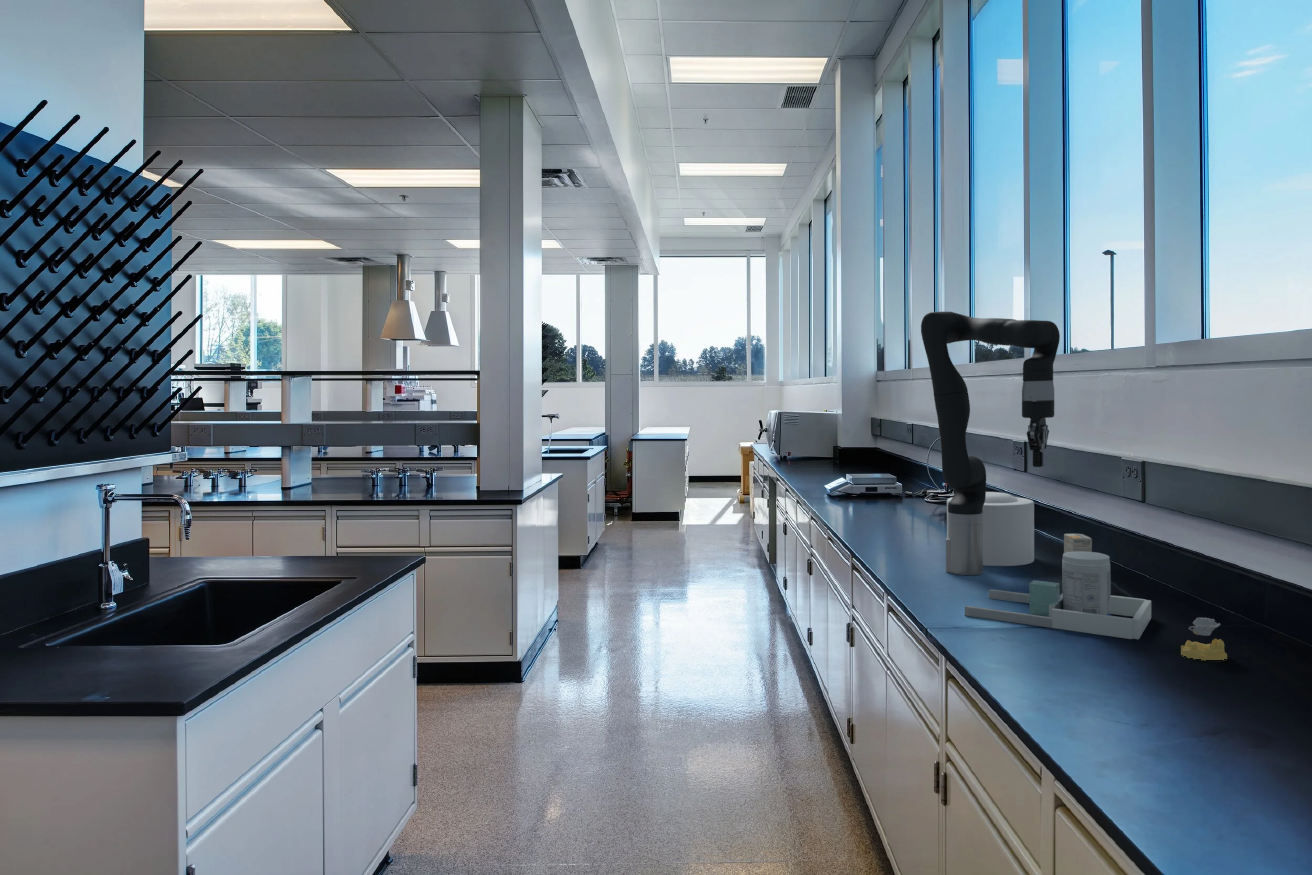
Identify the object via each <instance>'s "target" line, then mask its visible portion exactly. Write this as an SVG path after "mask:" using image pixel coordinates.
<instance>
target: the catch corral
mask: <svg viewBox="0 0 1312 875" xmlns="http://www.w3.org/2000/svg"><path fill="white" fill-rule="evenodd" d="M1115 615H1117V616H1115ZM1121 616H1123V617H1121ZM1130 617H1132V618H1130ZM1151 619H1152V600H1150V599H1144V598H1137V597H1129V596H1121V595H1111V616H1108V615H1101V614H1093V613H1085V612H1077V611H1070V610H1062V609H1054V608H1053V609H1052V628H1051V629H1056V630H1057V629H1058V630H1065V631H1071V632H1078V633H1086V634H1092V635H1098V636H1106V637H1107V636H1108V637H1112V638H1113V637H1114V638H1121V639H1128V640H1133V639H1134V640H1140V638H1141V636H1142V635H1143V632H1144V631H1145V630H1146V627H1147V626H1148V624H1149V623H1150V621H1151Z"/></svg>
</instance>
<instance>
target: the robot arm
mask: <svg viewBox="0 0 1312 875" xmlns="http://www.w3.org/2000/svg"><path fill="white" fill-rule="evenodd" d="M920 334H921V339H922V343H923V347H924V350H925V354H926V355H925V356H926V358H927V361H928V362H927V363H928V367H929V372H930V379H931V383H932V384H931V385H932V389H933V391H932V392H933V399H934V406H935V412H936V417H937V425H938V431H939V436H940V445H941V446H940V447H941V469H942V470H941V472H942V476H943V480H944V482H945V483H946V485H948V486H949V488H951V489H953V490H954V494H953V496H952V497H953V498H952V497H951V498H952V499H951V501H950V502H949V503H948V538H947V537H946V539H945V573H950V574H955V575H960V576H961V575H962V576H978V575H981V574H983V573H984V569H983V568H984V565H983V513H982V512H983V505H984V503H985V497H986V492H987V490H986V489H987V470H986V467H985V464H984V463H983V461H982V459H980V458H979V457H976V456H974V455H969V454H968V449H967V441H966V439H967V438H966V436H967V428H968V425H969V419H970V417H971V416H970V414H971V405H970V397H969V391H968V386H967V384H966V382H965V380H964V378H963V377H962V375H961V373H960V372H959V371H958V370H957V368H956V367H955V365H954V364H953V361H952V359H951V356H950V354H949V349H948V344H952V343H957V342H963V341H965V342H967V341H978V342H982V343H983V344H984V343H985V344H988V345H997V346H999V345H1000V346H1006V347H1007V346H1012V347H1017V348H1023V349H1024V348H1025V349H1033V352H1032V355H1031V357H1029V358H1027V359H1025V360H1024V361H1023V364H1022V387H1021V417H1022V418H1023V419H1024V418H1025V419H1030V421H1029V425H1028V426H1027V432H1026V436H1027V441H1028V446H1029V451H1031V452H1032V467H1034V468H1042V467H1044V452H1045V450H1046V449H1047V444H1048V438H1049V433H1050V430H1049V425H1048V424H1047V419H1046V418H1049V419H1050V418H1053V417H1055V385H1054V362H1055V359H1056V357H1057V353H1058V349H1059V345H1060V337H1061V336H1060V330H1059V327H1058V326H1057V324H1056V323H1055V322H1053V321H1051V320H1040V319H1038V320H1034V319H1033V320H1032V319H1030V320H1029V319H1027V320H1026V319H1015V318H1003V317H1001V318H999V317H998V318H997V317H996V318H995V317H993V318H992V317H991V318H990V317H989V318H987V317H986V318H979V317H973V316H972V317H971V316H968V315H964V314H962V313H961V314H960V313H957V312H954V311H930V312H927V313H926V314H924V316H923V317H922V320H921V324H920Z"/></svg>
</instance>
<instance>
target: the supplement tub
mask: <svg viewBox="0 0 1312 875" xmlns="http://www.w3.org/2000/svg"><path fill="white" fill-rule="evenodd" d="M1110 560H1111V559H1110V556H1109V555H1107V554H1105V553H1101V552H1094V551H1092V552H1085V551H1074V552H1066V553H1064V552H1063V554H1062V560H1061V561H1062V563H1061V568H1062V570H1061V572H1062V573H1061V574H1062V576H1061V579H1062V580H1061V582H1062V584H1061V585H1062V586H1061V587H1062V589H1061V590H1062V593H1061V594H1062V595H1063V610H1070V611H1077V612H1085V613H1093V614H1101V615H1108V616H1112V614H1111V591H1112V590H1111V587H1112V586H1111V585H1112V584H1111V561H1110Z"/></svg>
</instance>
